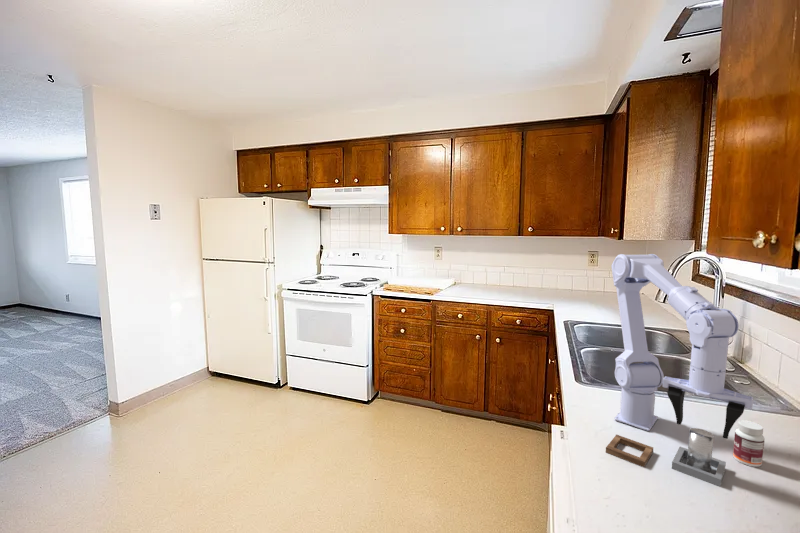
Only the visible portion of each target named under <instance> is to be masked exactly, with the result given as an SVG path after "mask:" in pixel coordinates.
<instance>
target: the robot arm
mask: <svg viewBox="0 0 800 533" xmlns="http://www.w3.org/2000/svg"><path fill="white" fill-rule="evenodd" d="M664 265H665V264H664V260H663V259H662V258H660V256H658V255H657V254H656V253H655V254H654V253H649V254H624V253H619V254H617V256H615V258H614V260H613V261H612V264H611V272H612V273H611V275H612V279H613V280H612V281H613V287H615V290H616V296H617V303H618V312H619V317H620V325H621V332H622V340H623V341H622V342H623V348H624V351H623V352H622V353H620V354H619V355H618V356H617V357H615V359H614V360H615V369H614V377H615V381H616V382H617V383H618V385H619V386H620V387H621V392H620V393H621V394H620V408H619V409H620V410H619V413H618V414H617V415H616V416H615V417H614V421H617V422H620V423H623V424H627V425H629V426H632V427H634V428H635V427H636V428H638V429H640V430H644V431H647V432H650V431H651V429H652V428H653V427H654V425H655V424H656V422H657V420H658V419H659V417H658V416H657V415H656V414H655V403H656V402H655V401H656V393H655V392H658V388H660V387H661V386H662V388H665V389H667V391H666V393H667V397H668V399H669V400H670V403H671V405H672V407H673V410H674V413H675V415H674V416H675V419H676V424H677V425H682V422H683V419H684V400H685V395H686V394H685V393H689V394H694V395H697V396H699V397H703V398H707V399H708V398H709V399H712V400H717V401H719V402H720V401H721V402H724V403H727V405H726V409H725V411H726V412H725V424H724V428H723V432H722V433H723V434H722V438H723V439H726V440H729V439H728V438H729V433H730V432H731V429H732V428H733V426H734V425H735V423H736V422H738V420H739V418H740V417H741V416H742V415H743V414H744V411H745V409H746V410H750V411H751V410H753V404H754V397H753V396H750V395H747V394H742V393H739V392H737V391H733V390H731V389H728V388H725V382H726V372H727V365H728V364H727V362H728V351H729V343H730V342H729V340H730V338H732V337H735V336H736V335H737V333H738V331H739V326H740V325H739V321H738V318H737V317H736V315H735V313H733V311H731V310H730V309H727V308H720V307H718V306H715V305H714V303H712V302H711V301H709V300H708V299H706V297H704V296H703V295H702V294H700V293H699V292H698V291H699V290H698V289H697V288H696V287H695V286H690V285H682V284H681V283H680V282H679V281H678V280H677V279H676V278H675V277H674V276H673V274H671V273H670V272H669V271H668V270H667V269H666V268H665V266H664ZM650 283H652V284H653V285H654V286H656V287H657V288H658V289H659V290H661V291H662V292H663V293H664V294H665V295H667V296H668V298H667V302H668V305H669V306H671V307H672V308H673V309H674V310H675V311H676V312H677V313H678V314H679V315H680V316H681V317H682V318H683V319H684V320H685V323H686V324H685V326H686V328H687V331H688V333H689V342H690V344H691V354H690V364H689V375H688V379H683V378H676V377H671V376H666V375H665V376H664V372H663V370H662V368H661V366H660V362H659V361H660V360H659V358H658V357H656V356H655V355H654V354H653V353H652V352H650V351H649V348H648V342H647V334H646V333H647V332H646V328H645V321H644V320H645V319H644V315H643V307H642V301H641V294H640V292H641V290H642V289H643V288H644V287H646V286H647V285H648V284H650Z"/></svg>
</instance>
